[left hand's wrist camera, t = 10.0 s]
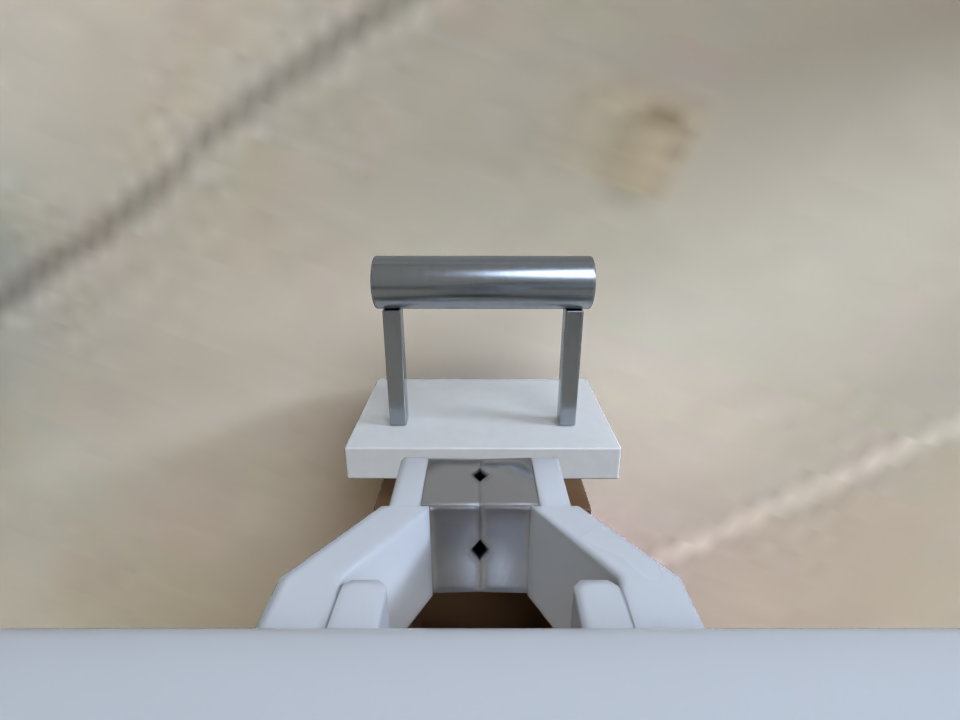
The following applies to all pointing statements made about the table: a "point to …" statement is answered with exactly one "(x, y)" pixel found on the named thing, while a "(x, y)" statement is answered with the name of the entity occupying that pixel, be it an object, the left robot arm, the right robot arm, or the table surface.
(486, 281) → the drawer
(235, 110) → the table surface
